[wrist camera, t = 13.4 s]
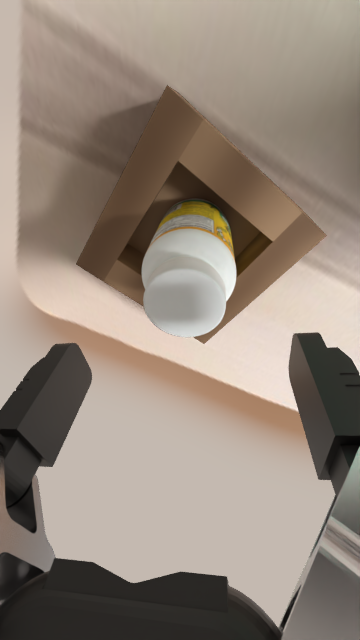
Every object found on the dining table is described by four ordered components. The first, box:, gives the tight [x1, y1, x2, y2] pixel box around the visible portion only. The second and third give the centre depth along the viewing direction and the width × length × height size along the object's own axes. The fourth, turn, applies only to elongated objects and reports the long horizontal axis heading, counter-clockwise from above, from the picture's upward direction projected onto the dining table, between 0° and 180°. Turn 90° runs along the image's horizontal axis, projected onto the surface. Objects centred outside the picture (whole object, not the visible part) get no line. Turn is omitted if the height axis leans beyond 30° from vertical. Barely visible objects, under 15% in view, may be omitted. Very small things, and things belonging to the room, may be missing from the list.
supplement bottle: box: [142, 198, 236, 337], centre depth 16 cm, size 5×5×10 cm
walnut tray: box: [76, 85, 327, 344], centre depth 20 cm, size 12×12×6 cm
